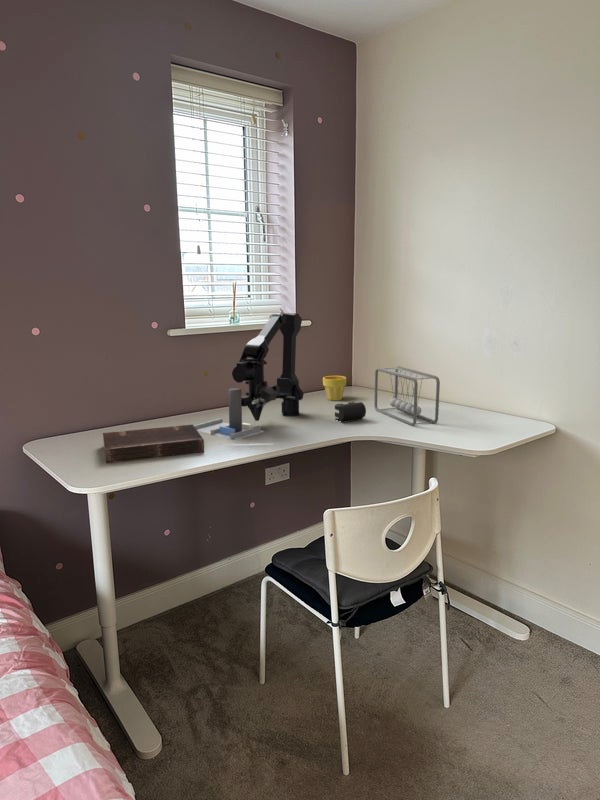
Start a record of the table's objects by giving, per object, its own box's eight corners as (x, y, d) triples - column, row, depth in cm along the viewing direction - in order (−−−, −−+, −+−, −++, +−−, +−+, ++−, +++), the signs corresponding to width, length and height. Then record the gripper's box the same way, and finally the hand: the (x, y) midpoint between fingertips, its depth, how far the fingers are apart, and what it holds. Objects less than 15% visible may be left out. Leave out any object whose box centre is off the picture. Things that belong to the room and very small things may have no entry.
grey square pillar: (240, 429, 202) (240, 388, 199) (243, 432, 198) (242, 390, 195) (228, 430, 201) (227, 388, 198) (230, 433, 197) (229, 390, 194)
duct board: (264, 432, 200) (264, 424, 200) (236, 441, 190) (236, 432, 189) (217, 422, 215) (216, 414, 214) (188, 430, 204) (188, 422, 204)
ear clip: (252, 428, 203) (252, 424, 203) (248, 429, 202) (248, 425, 201) (244, 426, 206) (244, 422, 205) (240, 427, 204) (240, 423, 204)
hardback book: (106, 465, 168) (105, 448, 167) (104, 447, 186) (102, 433, 185) (204, 453, 178) (203, 438, 177) (193, 438, 196) (192, 424, 195)
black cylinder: (344, 424, 211) (344, 406, 210) (333, 420, 217) (333, 403, 216) (366, 420, 216) (366, 403, 215) (355, 417, 222) (355, 400, 221)
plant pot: (318, 399, 254) (318, 377, 252) (332, 395, 262) (332, 374, 260) (336, 402, 248) (337, 380, 245) (350, 398, 255) (350, 377, 253)
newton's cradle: (438, 424, 210) (440, 376, 206) (414, 427, 206) (415, 378, 202) (396, 407, 237) (397, 365, 233) (373, 410, 233) (374, 367, 230)
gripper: (254, 384, 192) (255, 429, 195) (290, 376, 206) (290, 418, 210) (231, 381, 199) (232, 424, 202) (267, 373, 213) (267, 414, 216)
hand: (257, 420), depth 207 cm, fingers closed
